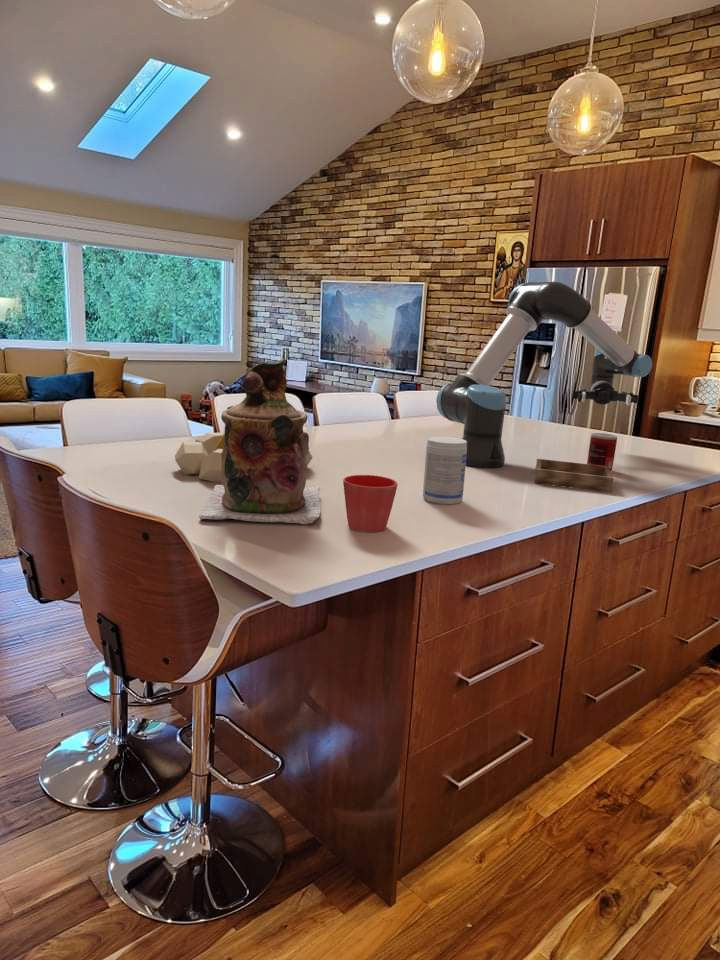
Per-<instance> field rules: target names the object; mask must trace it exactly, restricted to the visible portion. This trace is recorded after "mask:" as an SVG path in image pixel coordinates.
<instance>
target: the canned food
mask: <svg viewBox="0 0 720 960" xmlns="http://www.w3.org/2000/svg"><path fill="white" fill-rule="evenodd" d="M617 443H618V436H617V435H616V434H615V435H614V434H611V433H603V432H602V433H601V432H593V433H591V435H590V439H589V447H588V451H587V452H588V454H587V460H586V464H590V465H600V466H608V467H609V469H610V471H611V472H612V470H613V467H614V461H615V457H616V456H615V455H616V449H617V448H616V447H617Z"/></svg>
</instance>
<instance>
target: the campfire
mask: <svg viewBox="0 0 720 960" xmlns="http://www.w3.org/2000/svg"><path fill="white" fill-rule="evenodd" d="M233 406H234V405H231V406H228V407H226V410H228V409H230V408H231V407H233ZM224 440H225V435H224V432H219V431H218V432H208V433H205V434H203V435H201V436H199V437H197V438H195V441H183V442H182V443H181V445H180V447H178V450H177V451H176V453H175V455H174V460H175V462H176V464H177V465H178V467H179V468H180V470H181V472H182V473H183V475H198V478H199V479H201V480H205V481H209V482H211V481H213V482H212V483H222V481H221V471H222V469H221V468H222V460H221V454H222V450H223V447H224ZM305 457H306V465H307V467H308V466H309V465H310V462H311V461H312V459H313V455H312V454H311V452H310V451H309V452H308V454H307V455H306V456H305Z"/></svg>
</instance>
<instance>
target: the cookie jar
mask: <svg viewBox="0 0 720 960" xmlns="http://www.w3.org/2000/svg"><path fill="white" fill-rule="evenodd" d="M285 362H286V359H285V358H282V359H281V360H280V361H277V362H260V363H257V364H255V365H253V366H252V367H251V368H250V369H248V371H246V372H245V374H244V377H243V381H242V382H241V387H242V388H243V391H244V393H245V394H246V395H245V398H243V400H242V401H241V402H240V403H238V404H235V405H232V406H233V407H231V408H230V409H228V410H227V409H225V410H223V411H222V413H221V417H220V418H221V421H222V422H223V424H224V432H223V433H224V435H225V440H224V447H223V450H222V454H221V460H222V468H221V469H222V471H221V481H222V482H221V484H216V485H214V487H213V489H212V492H211V494H210V496H209V497H208V498H207V500H206V502H205V505H204V506H203V509H202V510H201V512H200V514H199V515H198V518H199V520H201V521H202V520H206V519H207V520H226V519H227V520H228V519H234V520H240V521H245V522H255V523H256V522H258V523H259V522H261V523H281V524H283V523H285V524H301V525H310V524H313V522H314V521H316V520H317V519H319V518H320V516H321V514H322V511H321V508H322V505H321V504H320V502H321V501H320V489H321V488H320V486H317V485H316V486H315V485H314V486H308V487H306V483H307V472H308V466H307V465H306V457H305V456H306V455H307V454H308V452H310V450H309V449H310V448H309V447H310V446H309V443H310V442H309V441H310V436H309V434H308V432H305V431H304V426H305V424H306V423H307V422H308V421H307V420H308V415H307V413H305V412H304V411H302V410H297V409H296V407H294V406H293V405H292V404H291V403H290V402H288V400H287V398H286V397H287V396H286V390H287V384H288V380H287V379H286V377H285V374H286V371H285V369H284V364H285Z"/></svg>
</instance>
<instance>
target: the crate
mask: <svg viewBox="0 0 720 960" xmlns="http://www.w3.org/2000/svg"><path fill="white" fill-rule="evenodd" d="M534 473H535V474H534V475H535V476H534V484H535V483H536V484H537V485H543V484H544V485H545V486H552V485H555V486H554V487H560V486H565V487H564V488H568V487H573V488H572V489H577V488H579V489H580V490H585V489H587V491H594V490H595V491H594V492H602V491H603V492H602V493H611V494H612V491H613V486H614V485H613V484H614V476H613V473H612V471H610V469H609V467H608V466H600V465H590V464H587V463H580V462H569V461H561V460H554V459H553V460H551V459H544V458H537V459H536V466H535V471H534ZM536 484H535V485H536Z"/></svg>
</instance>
